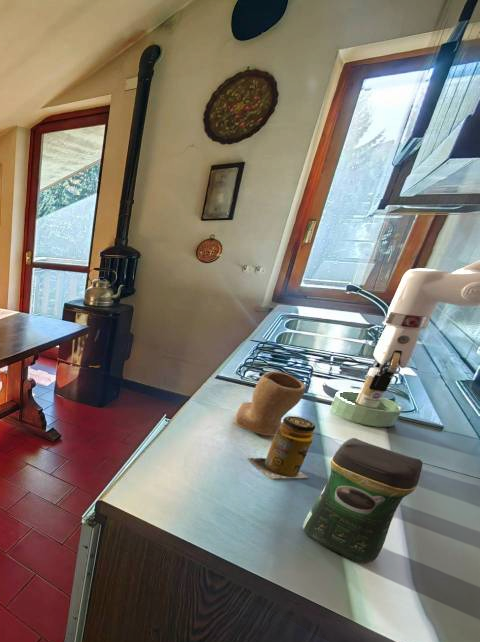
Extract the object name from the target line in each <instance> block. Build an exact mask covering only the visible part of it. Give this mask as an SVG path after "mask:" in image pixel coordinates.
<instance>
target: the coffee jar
mask: <svg viewBox="0 0 480 642" xmlns="http://www.w3.org/2000/svg"><path fill="white" fill-rule="evenodd" d="M422 469H423V461H422V459H420V458H417V457H416V458H415V457H411V456H408V455H405V454H402V453H399V452H397V451H393V450H390V449H387V448H385V447H381V446H378V445H376V444H373V443H369V442H366V441H363V440H360V439H358V438H356V437H351V438H349V439H347V440H345V441H344V442H343V443H342V444H341V446H340V447H339V448H338V449H337V451H336V452H335V454H334V455H333V456H332V457H331V460H330V475H329V477H328V480H327V482H326V483H325V486H324V487H323V490H322V491H321V494H320V495H319V496H318V498H317V499H316V501H315V503H314V504H313V506H312V507H311V509H310V510H309V512H308V514H307V516H306V518H305V519H304V521H303V524H302V530H303V532H304V533H305V535H306V536H307V537H308V538H309V539H311V540H313V541H314V540H315V542H316V541H317V542H316V543H318V542H319V543H320V545H321V544H322V545H321V546H323V545H324V546H323V547H325V546H326V547H325V548H327V547H328V548H327V549H329V548H330V549H329V550H331V549H332V550H331V551H333V552H334V551H335V553H336V552H337V554H338V553H339V554H338V555H341V556H343V557H345V558H347V559H349V560H351V561H354V562H357V563H371V562H373V561H376V559H377V558H378V557H379V555H380V553H381V551H382V549H383V547H384V544H385V542H386V539H387V536H388V532H389V531H390V526H391V524H392V521H393V519H394V516H395V514H396V511H397V509H398V507H399V505H400V503H402V501H403V499H404V498H405V497H407V496H409V495H410V494H412V493H413V492H414V491H415V489H416V488H417V486H418V485H419V481H420V479H421V478H420V477H421V473H422ZM319 543H318V544H319Z"/></svg>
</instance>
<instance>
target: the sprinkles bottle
mask: <svg viewBox="0 0 480 642" xmlns="http://www.w3.org/2000/svg"><path fill="white" fill-rule="evenodd" d="M378 370H379V368H376V367H374V368H371V367H370V368H369V370H368V372H367V376H366V377H367V378H366V377H365V380H366V381H365V380H364V382H363V384H362V386H361V389H360V391H359V392H360V393H359V395H358V397H357V400H356V403H355V404H356V405H359V406H363V407H366V408H371V409H376V408H377V406H378V405H379V402H380V400H381V398H382V397H383V395H384V393H385V392H383V391H377V390H372V389H369V386H370V384H371V382H372V380H373V377H374V375H377V372H378ZM383 370H384V369H383Z"/></svg>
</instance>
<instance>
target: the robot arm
mask: <svg viewBox="0 0 480 642" xmlns="http://www.w3.org/2000/svg"><path fill="white" fill-rule="evenodd" d="M438 303H443V304H449V305H453V306H459V307H465V308H470V307H471V308H474V307H480V259H479V260H476V261H474V262H472V263H470V264H467V265H466V266H463V267H461V268H459V269H457V270H455V271H453V272H452V273H451V272H448V271H445V270H440V269H433V268H432V269H431V268H430V269H429V268H412V269H408V270H407V271H406V272H405V273H404V274H403V275H402V278H401V280H400V283H399V285H398V287H397V289H396V291H395V294H394V296H393V298H392V300H391V302H390V305H389V307H388V308H387V309H388V310H387V311H386V314H385V316H384V319H383V321H382V325H384V326H385V327H384V328H383V330H382V333H381V335H380V337H379V339H378V341H377V343H376V346H375V348H374V350H373V354H372V355H373V357H374V361H373V362H372V364H371V366H370V368H374V367H376V368H379V370H378V372H377V375H374V377H373V380H372V382H371V384H370V386H369V389H372V390H377V391H383V392H384V393H385V392H387V390H388V388H389V385H390V383H391V382H392V379H393V377H394V375H395V373H396V372H397V370H398V368H401V369H405V368H407V366H408V364H409V362H410V360H411V358H412V355H413V353H414V351H415V349H416V346H417V343H418V341H419V337H420V334H421V331H424V330H425V329H426V327H427V326H428V323H429V321H430V319H431V317H432V315H433V313H434V311H435V309H436V307H437V306H438ZM383 369H384V370H383ZM366 378H367V376H366V377H365V379H364V382H365V381H366Z"/></svg>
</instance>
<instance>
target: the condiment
mask: <svg viewBox="0 0 480 642" xmlns="http://www.w3.org/2000/svg"><path fill="white" fill-rule="evenodd" d="M315 429H316V424H315V423H314V422H312V421H311V420H309V419H306V418H304V417H300V416H296V415H295V416H292V415H288V416H285V417H283V418H282V421H281V426H280V427H279V428H278V429H277V431H276V434H275V435H273V439H272V442H271V444H270V447H269V449H268V453H267V455H266V457H258V458H257V457H256V458H255V457H247V458H246V459H247V460H248V461H249V462H250V464H252V465H253V466H254V467H256V468H257V469H258V470H259V471H260V472H262V473H263V474H264V475H265V476H267V477H268V478H269V479H271V480H272V479H309V476H308V475H306V474H305V473H303V472H301V471H300V470H301V468H302V466H303V464H304V461H305V459H306V456H307V454H308V452H309V449H310V447H311V445H312V443H313V440H314V437H313V434H314V431H315Z"/></svg>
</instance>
